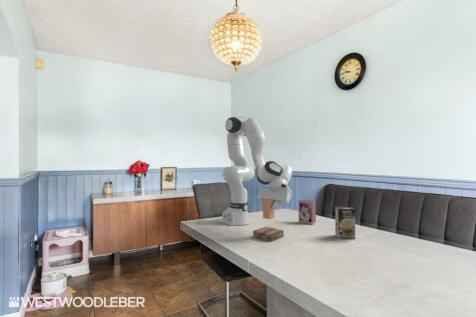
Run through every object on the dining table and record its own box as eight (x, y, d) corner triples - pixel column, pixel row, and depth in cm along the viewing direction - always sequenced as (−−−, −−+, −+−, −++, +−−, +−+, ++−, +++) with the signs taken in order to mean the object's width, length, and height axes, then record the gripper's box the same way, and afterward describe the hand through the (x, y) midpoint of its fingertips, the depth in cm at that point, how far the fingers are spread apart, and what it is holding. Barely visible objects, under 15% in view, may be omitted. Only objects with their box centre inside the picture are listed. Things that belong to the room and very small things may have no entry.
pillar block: (262, 218, 147) (262, 200, 147) (267, 216, 150) (267, 199, 150) (269, 219, 144) (269, 200, 144) (274, 217, 147) (274, 199, 147)
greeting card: (297, 222, 181) (297, 200, 181) (303, 220, 186) (303, 199, 186) (312, 225, 173) (312, 202, 173) (318, 223, 178) (318, 200, 178)
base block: (253, 238, 146) (253, 230, 146) (266, 233, 155) (266, 226, 155) (271, 242, 138) (271, 234, 138) (283, 237, 147) (283, 230, 147)
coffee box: (338, 238, 144) (338, 208, 144) (335, 235, 150) (334, 206, 150) (355, 238, 143) (355, 209, 143) (351, 235, 149) (351, 206, 149)
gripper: (260, 184, 159) (250, 202, 152) (290, 185, 145) (281, 205, 138) (265, 190, 162) (255, 208, 155) (294, 193, 149) (285, 213, 141)
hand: (267, 207), depth 146 cm, fingers closed on pillar block, 4 cm apart
